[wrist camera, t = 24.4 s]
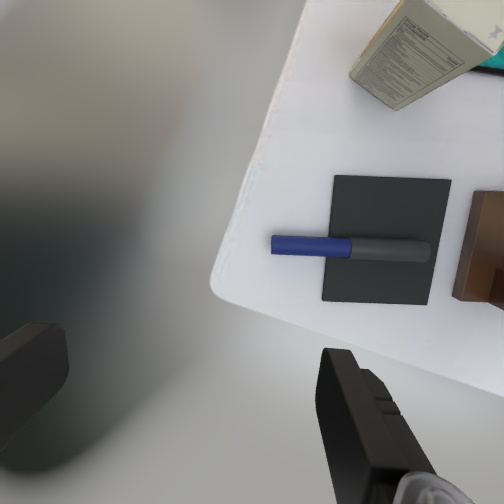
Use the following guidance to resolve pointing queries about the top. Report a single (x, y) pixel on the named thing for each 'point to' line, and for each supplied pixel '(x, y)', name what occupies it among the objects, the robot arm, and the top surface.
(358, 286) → the mat
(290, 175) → the top surface
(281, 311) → the top surface
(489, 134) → the top surface
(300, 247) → the marker
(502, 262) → the wooden headphone stand
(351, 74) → the cosmetic box
